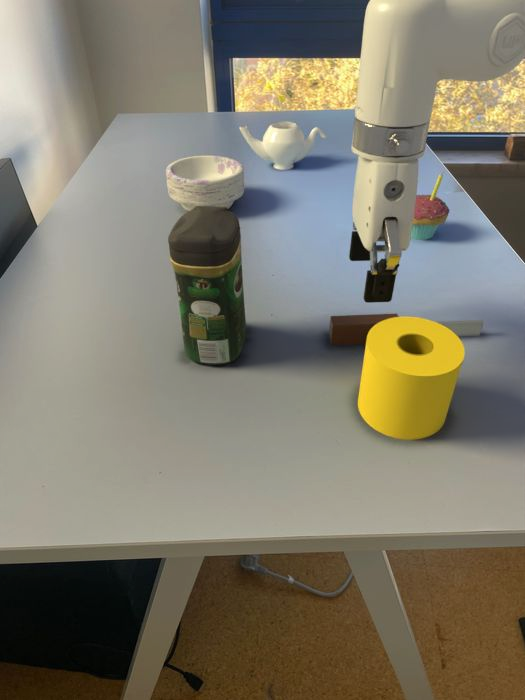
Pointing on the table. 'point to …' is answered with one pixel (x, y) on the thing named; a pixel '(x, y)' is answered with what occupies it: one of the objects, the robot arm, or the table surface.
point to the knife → (358, 326)
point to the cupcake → (428, 214)
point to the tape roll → (409, 376)
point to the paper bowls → (205, 181)
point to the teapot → (282, 143)
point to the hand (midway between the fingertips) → (368, 279)
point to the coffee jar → (209, 283)
